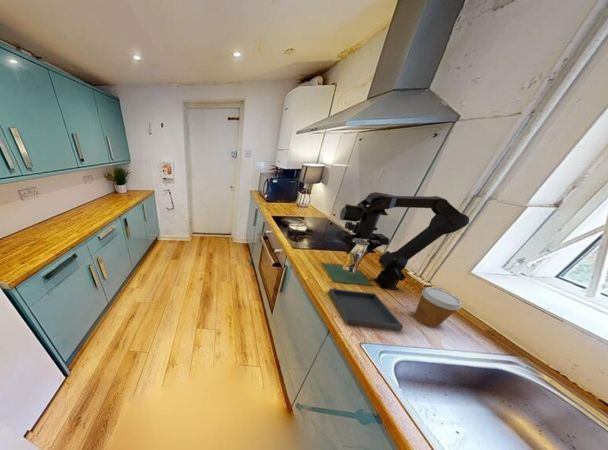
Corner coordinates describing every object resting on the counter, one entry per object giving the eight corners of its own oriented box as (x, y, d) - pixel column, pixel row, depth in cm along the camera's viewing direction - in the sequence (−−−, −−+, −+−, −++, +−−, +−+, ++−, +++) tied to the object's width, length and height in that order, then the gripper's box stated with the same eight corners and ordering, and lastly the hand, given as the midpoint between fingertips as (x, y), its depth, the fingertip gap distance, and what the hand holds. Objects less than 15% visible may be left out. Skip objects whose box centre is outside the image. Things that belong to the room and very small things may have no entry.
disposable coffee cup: (449, 336, 67) (469, 311, 62) (412, 323, 72) (428, 298, 67) (438, 316, 74) (456, 292, 70) (405, 306, 79) (419, 282, 74)
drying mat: (355, 267, 102) (355, 266, 102) (371, 285, 89) (371, 285, 89) (322, 264, 104) (322, 263, 104) (334, 281, 91) (334, 281, 91)
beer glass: (361, 275, 89) (373, 246, 83) (344, 273, 90) (355, 244, 84) (353, 266, 96) (364, 238, 89) (338, 264, 97) (348, 237, 90)
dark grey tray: (372, 297, 83) (374, 293, 82) (400, 331, 68) (403, 326, 67) (328, 292, 85) (329, 288, 84) (346, 324, 71) (348, 319, 69)
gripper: (378, 217, 89) (366, 246, 96) (335, 214, 91) (326, 243, 98) (397, 227, 79) (382, 259, 86) (348, 224, 81) (337, 256, 88)
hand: (355, 254), depth 89 cm, fingers closed on beer glass, 7 cm apart
